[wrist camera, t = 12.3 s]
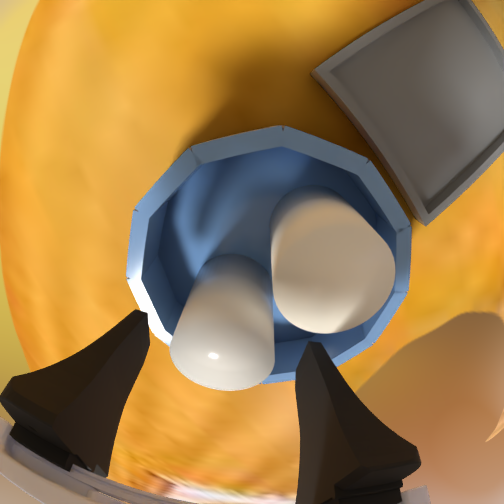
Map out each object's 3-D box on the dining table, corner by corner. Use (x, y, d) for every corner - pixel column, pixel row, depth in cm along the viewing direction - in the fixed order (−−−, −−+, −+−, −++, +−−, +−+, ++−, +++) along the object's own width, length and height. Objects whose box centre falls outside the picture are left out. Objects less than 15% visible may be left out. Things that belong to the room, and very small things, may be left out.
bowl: (418, 262, 16) (444, 291, 13) (260, 368, 20) (259, 406, 17) (280, 76, 12) (286, 61, 9) (113, 245, 16) (84, 273, 13)
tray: (521, 114, 10) (533, 116, 9) (415, 218, 14) (425, 226, 13) (448, -10, 7) (458, -16, 6) (309, 73, 12) (314, 69, 10)
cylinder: (287, 276, 16) (295, 347, 11) (248, 329, 17) (243, 400, 12) (215, 239, 15) (191, 301, 10) (184, 298, 16) (157, 366, 12)
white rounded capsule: (365, 201, 13) (415, 245, 9) (334, 273, 15) (361, 341, 10) (284, 173, 13) (298, 206, 8) (258, 253, 15) (256, 320, 10)
